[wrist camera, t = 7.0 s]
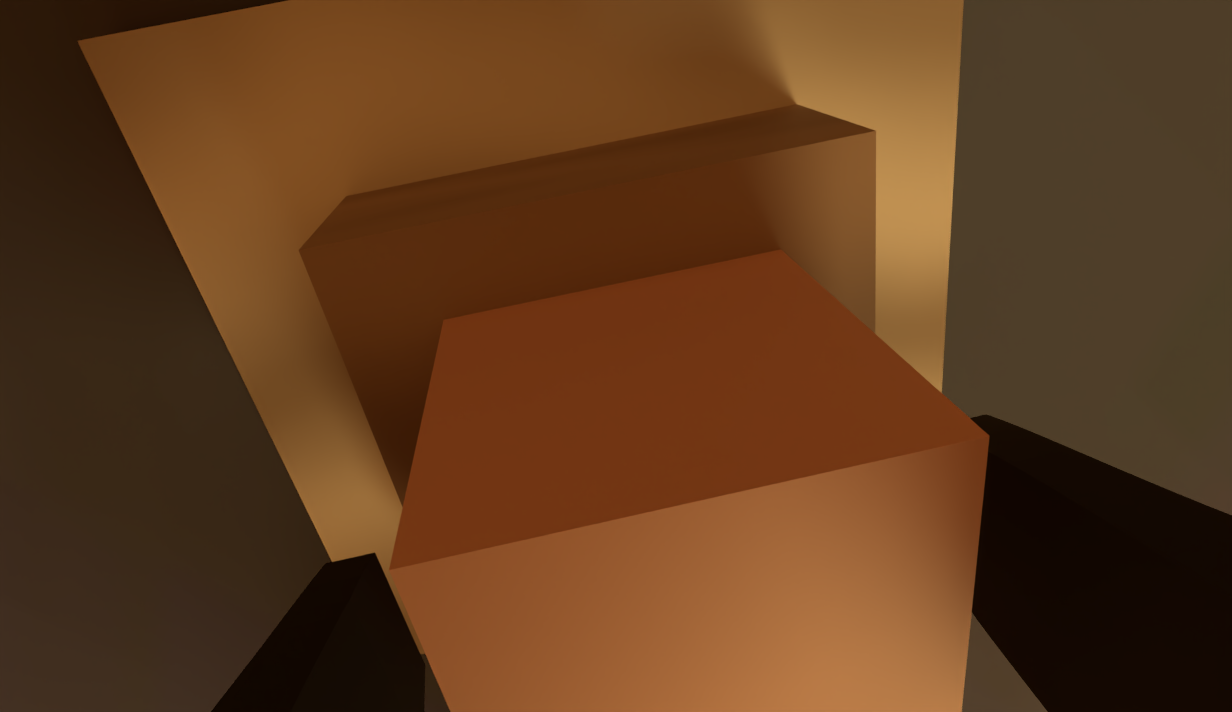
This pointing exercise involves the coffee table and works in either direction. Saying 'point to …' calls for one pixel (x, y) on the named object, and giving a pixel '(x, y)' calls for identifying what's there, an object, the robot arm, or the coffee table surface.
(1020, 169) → the coffee table surface
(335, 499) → the plate
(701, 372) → the terracotta cube
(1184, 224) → the coffee table surface
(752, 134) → the walnut slab
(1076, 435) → the coffee table surface
